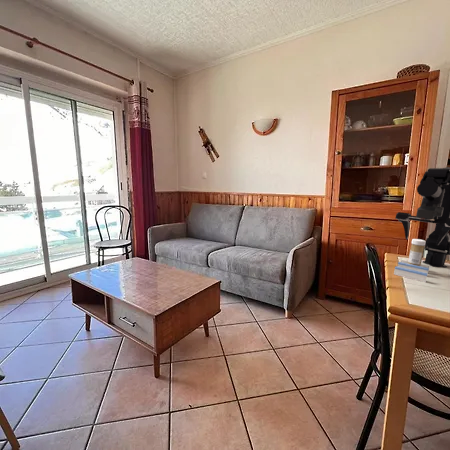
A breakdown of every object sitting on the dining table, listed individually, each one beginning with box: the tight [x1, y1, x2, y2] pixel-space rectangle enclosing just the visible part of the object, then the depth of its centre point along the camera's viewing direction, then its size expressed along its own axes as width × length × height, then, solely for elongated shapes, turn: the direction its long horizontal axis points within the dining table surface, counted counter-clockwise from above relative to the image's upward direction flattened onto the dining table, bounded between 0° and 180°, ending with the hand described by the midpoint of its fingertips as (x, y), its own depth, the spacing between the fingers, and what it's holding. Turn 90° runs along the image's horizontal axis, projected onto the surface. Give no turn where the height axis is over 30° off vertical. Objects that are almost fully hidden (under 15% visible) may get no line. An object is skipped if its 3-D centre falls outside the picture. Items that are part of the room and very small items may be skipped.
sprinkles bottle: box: [407, 238, 426, 266], centre depth 102 cm, size 5×5×14 cm
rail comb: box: [393, 258, 431, 283], centre depth 99 cm, size 19×10×3 cm, turn 137°
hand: (421, 242), depth 90 cm, fingers open, 9 cm apart
